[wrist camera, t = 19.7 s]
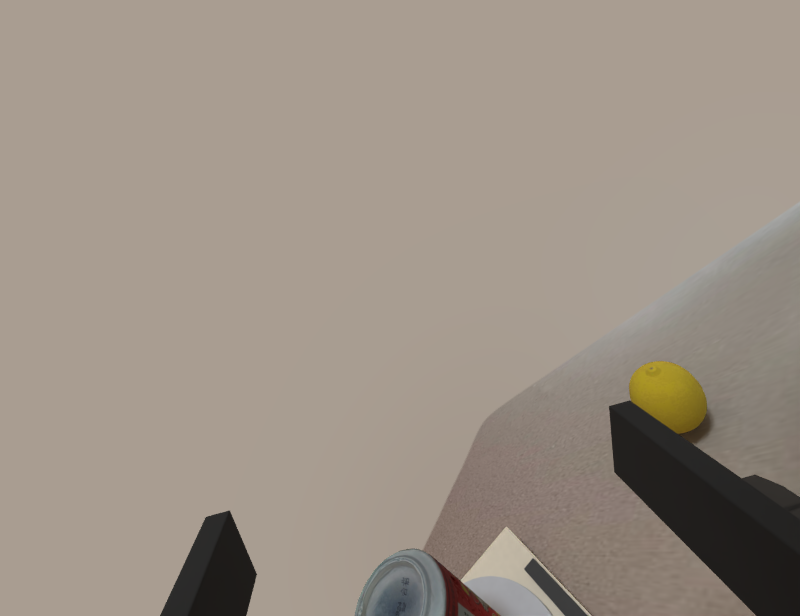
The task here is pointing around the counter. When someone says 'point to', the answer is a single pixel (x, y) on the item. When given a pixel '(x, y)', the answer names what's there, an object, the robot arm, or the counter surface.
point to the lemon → (669, 395)
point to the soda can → (418, 589)
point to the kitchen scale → (519, 582)
